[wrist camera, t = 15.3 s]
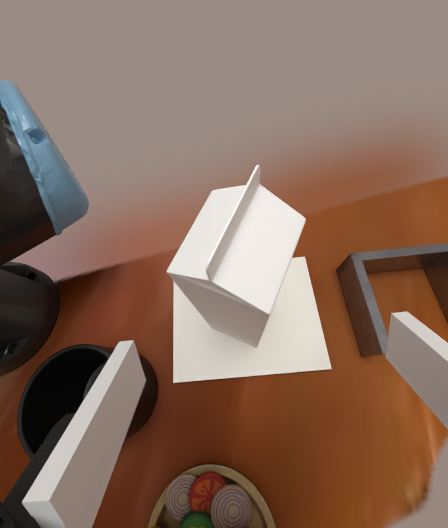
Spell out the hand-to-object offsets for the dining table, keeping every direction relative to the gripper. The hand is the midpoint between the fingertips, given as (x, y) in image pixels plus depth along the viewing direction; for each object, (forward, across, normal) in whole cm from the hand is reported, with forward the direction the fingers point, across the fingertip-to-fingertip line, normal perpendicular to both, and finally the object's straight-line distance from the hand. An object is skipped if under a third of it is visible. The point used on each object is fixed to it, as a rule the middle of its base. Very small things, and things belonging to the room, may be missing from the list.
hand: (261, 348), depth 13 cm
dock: (+16, +19, -10) cm, 26 cm away
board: (+17, 0, -9) cm, 19 cm away
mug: (+11, -17, -15) cm, 25 cm away
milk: (+16, -1, -8) cm, 18 cm away
